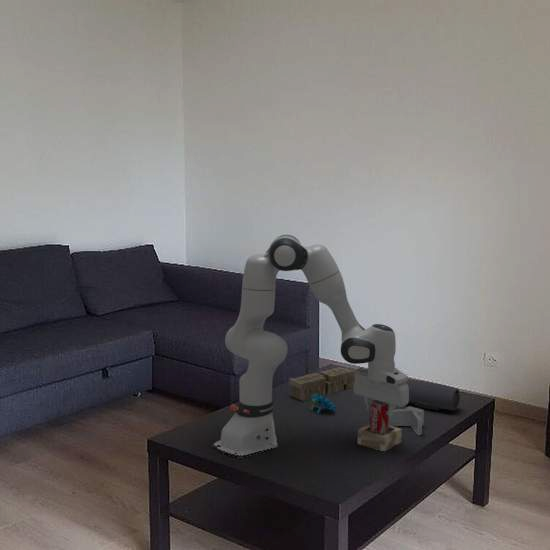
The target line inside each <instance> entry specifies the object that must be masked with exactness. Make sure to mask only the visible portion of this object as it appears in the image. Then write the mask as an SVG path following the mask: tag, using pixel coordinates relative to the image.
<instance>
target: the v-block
mask: <svg viewBox="0 0 550 550" xmlns="http://www.w3.org/2000/svg"><path fill="white" fill-rule="evenodd" d="M424 416H425V410H424V409H421V408H419V407H414V406H411V405H409V406H408V407H407V406H406V407H405V408H403V409H402V408H401V409H399V408H398V409H396V408H394V410H393V413H392V416H389V425H390V426H411V429H412V428H413V429H414V431H415V432H416V434H417V435H422V434H423V433H422V432H423V426H424V419H425V418H424ZM422 425H423V426H422ZM413 429H412V430H413ZM414 431H413V432H414ZM415 432H414V433H415ZM416 434H415V435H416ZM417 435H416V436H417Z"/></svg>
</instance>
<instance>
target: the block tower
mask: <svg viewBox="0 0 550 550" xmlns="http://www.w3.org/2000/svg"><path fill="white" fill-rule="evenodd" d="M355 371H356V370H354V369H350V368H349V367H344V368H343V367H341V366H338V367H334V368H331V369H326V370H322V371H319V372H313V373H310V374H306V375H303V376H299V377H295V378H293V377H290V378H289V385H290V386H291V397H292V396H293V398H294V397H295V399H297V400H300V401H303V402H306V401H310V400H313V398H312V397H313V395H314V394H315V395H316V394H318V395H319V396H323V397H325V396H326V395H331V393H332V394H335V392H336V393H338V391H339V392H343V391H344V390H346V389H347V390H350V389H353V387H354V380H355ZM342 390H343V391H342ZM325 393H326V394H325ZM324 395H325V396H324Z"/></svg>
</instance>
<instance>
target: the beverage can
mask: <svg viewBox="0 0 550 550" xmlns="http://www.w3.org/2000/svg"><path fill="white" fill-rule="evenodd" d="M389 409H390V407H389V403H385V402H381V401H378V400H374V399H373V401H371V406H370V410H369V424H370V432H373V433H377V434H380V435H385V434H387V433H388V427H389V416H387V415H386V410H389Z"/></svg>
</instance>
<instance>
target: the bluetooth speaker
mask: <svg viewBox="0 0 550 550" xmlns="http://www.w3.org/2000/svg"><path fill="white" fill-rule="evenodd" d="M406 383H407V385H408V388H409V402H408V403H410V404H411V403H412V404H413V406H414V405H415V407H417V406H419V407H418V408H422V407H424V408H423V409H427V408H430V409H429V410H431V409H438V410H437V411H440V410H446V411H447V410H449V411H456V410H457V409H458V407H459V404H460V401H461V400H460V399H461V394H460V389H459V388H456V387H453V386H450V385H447V384H440V383H436V382H430V381H425V380H419V379H412V378H408V381H406ZM439 409H440V410H439Z"/></svg>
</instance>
